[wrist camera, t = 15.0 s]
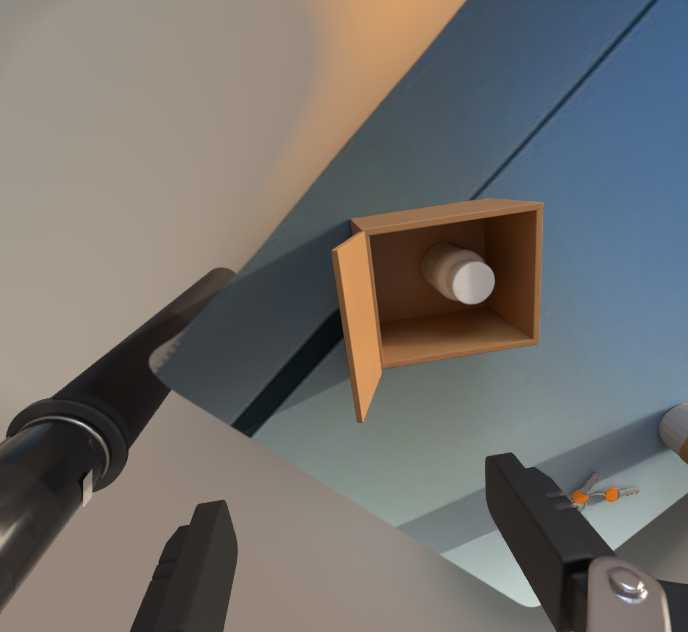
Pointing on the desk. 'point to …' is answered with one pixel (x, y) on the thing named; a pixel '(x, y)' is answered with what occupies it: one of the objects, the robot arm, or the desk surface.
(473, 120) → the desk surface
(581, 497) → the key chain
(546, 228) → the desk surface
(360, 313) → the bin flap
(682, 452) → the coffee cup
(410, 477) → the desk surface
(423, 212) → the carton
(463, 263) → the pill bottle
